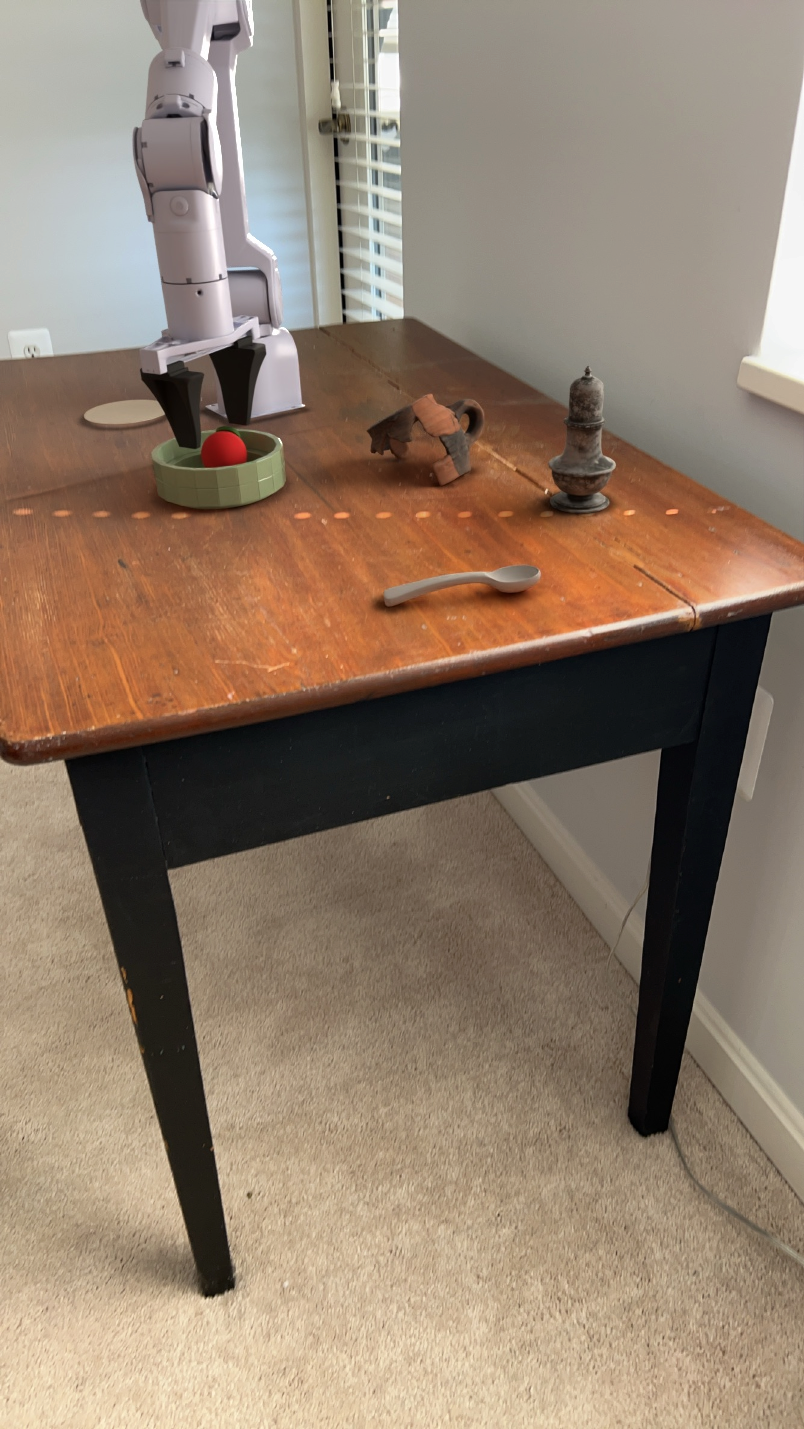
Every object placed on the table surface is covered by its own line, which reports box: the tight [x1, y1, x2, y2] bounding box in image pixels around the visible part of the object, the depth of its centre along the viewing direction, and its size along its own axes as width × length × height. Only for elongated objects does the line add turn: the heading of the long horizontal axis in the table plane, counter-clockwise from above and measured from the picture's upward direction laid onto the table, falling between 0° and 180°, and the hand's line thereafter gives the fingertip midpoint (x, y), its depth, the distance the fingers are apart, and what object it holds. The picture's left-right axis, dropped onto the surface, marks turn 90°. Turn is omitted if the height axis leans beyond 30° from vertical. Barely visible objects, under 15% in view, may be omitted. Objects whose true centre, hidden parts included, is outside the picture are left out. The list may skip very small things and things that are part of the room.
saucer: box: [83, 399, 165, 425], centre depth 119 cm, size 10×10×1 cm
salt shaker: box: [547, 365, 617, 514], centre depth 88 cm, size 6×6×12 cm
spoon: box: [382, 564, 542, 607], centre depth 76 cm, size 3×12×2 cm, turn 100°
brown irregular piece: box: [366, 393, 486, 487], centre depth 99 cm, size 12×10×8 cm
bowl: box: [150, 428, 287, 510], centre depth 96 cm, size 12×12×4 cm
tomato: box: [201, 425, 247, 468], centre depth 98 cm, size 4×4×5 cm
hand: (215, 434), depth 94 cm, fingers open, 7 cm apart
